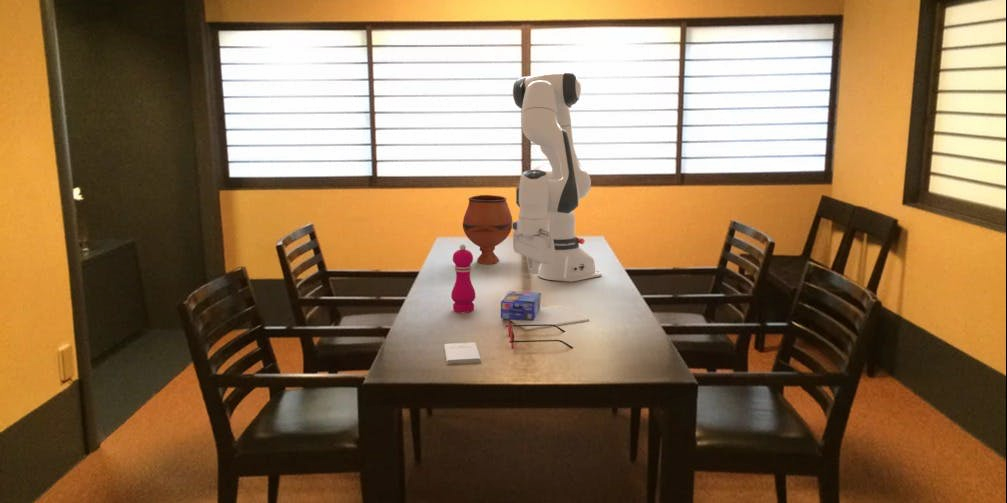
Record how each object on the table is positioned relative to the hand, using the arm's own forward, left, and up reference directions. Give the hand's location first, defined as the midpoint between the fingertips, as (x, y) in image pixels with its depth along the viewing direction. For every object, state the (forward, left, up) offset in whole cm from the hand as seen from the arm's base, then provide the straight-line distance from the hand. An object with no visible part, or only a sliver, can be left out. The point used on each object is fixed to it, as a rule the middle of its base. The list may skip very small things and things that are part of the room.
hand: (533, 273), depth 222 cm
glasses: (+11, +24, -12) cm, 29 cm away
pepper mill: (+18, -11, -12) cm, 24 cm away
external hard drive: (+33, +25, -13) cm, 44 cm away
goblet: (-15, -67, -12) cm, 70 cm away
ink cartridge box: (+1, -3, -9) cm, 9 cm away
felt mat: (0, +7, -12) cm, 14 cm away
